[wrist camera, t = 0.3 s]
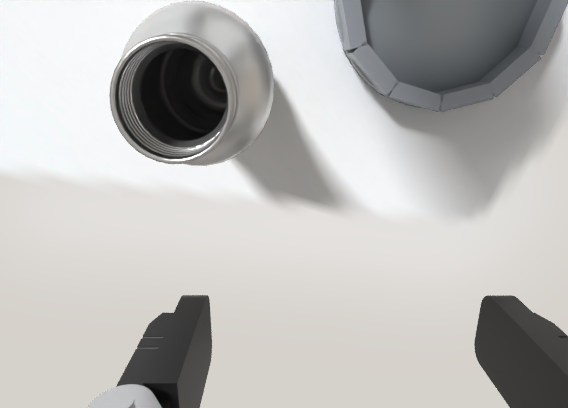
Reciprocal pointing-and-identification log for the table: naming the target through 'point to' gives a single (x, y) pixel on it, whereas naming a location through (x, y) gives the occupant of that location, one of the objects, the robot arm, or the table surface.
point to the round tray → (445, 46)
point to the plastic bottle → (192, 85)
